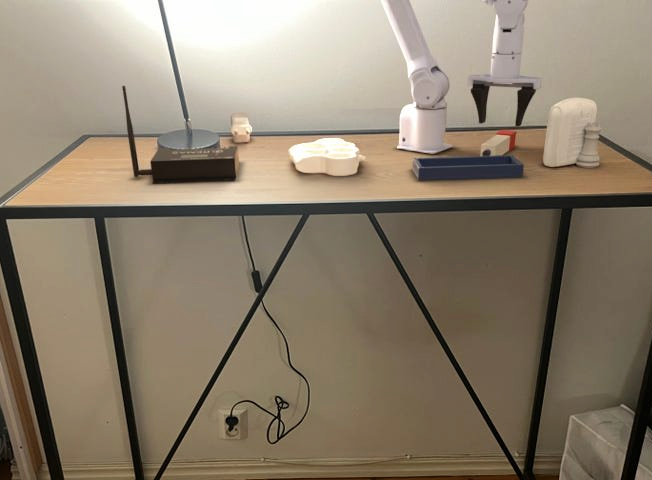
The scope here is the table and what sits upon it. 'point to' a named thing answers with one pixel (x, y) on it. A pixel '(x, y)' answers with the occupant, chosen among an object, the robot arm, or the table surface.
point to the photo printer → (567, 130)
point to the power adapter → (240, 127)
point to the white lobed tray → (327, 157)
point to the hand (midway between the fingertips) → (500, 124)
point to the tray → (467, 167)
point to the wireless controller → (185, 161)
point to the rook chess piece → (590, 147)
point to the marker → (499, 143)
